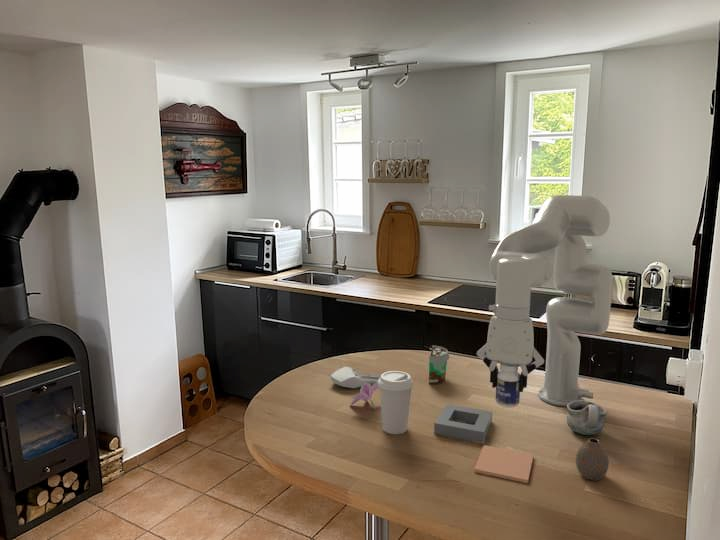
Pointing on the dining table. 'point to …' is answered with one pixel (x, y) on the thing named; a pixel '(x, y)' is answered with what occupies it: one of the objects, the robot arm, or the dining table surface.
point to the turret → (352, 378)
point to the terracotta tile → (504, 463)
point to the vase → (592, 460)
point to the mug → (585, 417)
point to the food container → (437, 364)
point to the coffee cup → (395, 400)
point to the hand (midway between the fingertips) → (508, 387)
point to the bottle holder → (462, 430)
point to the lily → (366, 393)
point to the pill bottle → (508, 385)
